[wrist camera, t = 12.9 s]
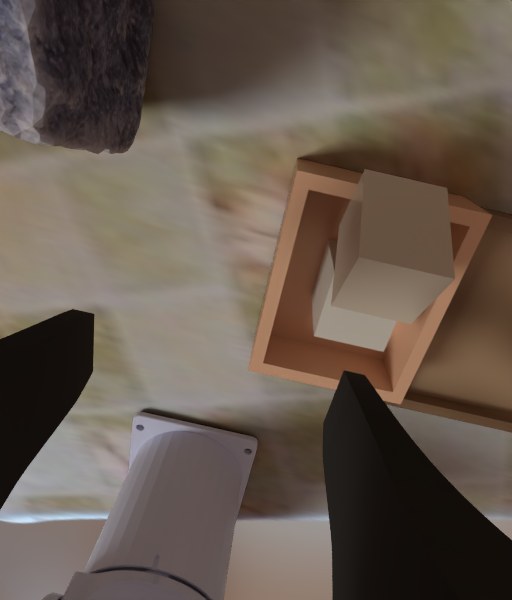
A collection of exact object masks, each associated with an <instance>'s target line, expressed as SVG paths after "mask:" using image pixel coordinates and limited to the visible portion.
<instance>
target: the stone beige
mask: <svg viewBox="0 0 512 600" xmlns="http://www.w3.org/2000/svg"><path fill="white" fill-rule="evenodd" d="M454 280H455V273H454V261H453V250H452V238H451V227H450V215H449V203H448V192H447V188H445V187H441V186H437V185H432V184H428V183H424V182H419V181H415V180H411V179H406V178H402V177H398V176H393V175H389V174H385V173H380V172H376V171H372V170H368V169H364V172H363V174H362V176H361V178H360V181H359V183H358V185H357V187H356V189H355V192H354V194H353V196H352V198H351V200H350V203H349V205H348V207H347V209H346V212H345V214H344V216H343V218H342V220H341V223H340V225H339V234H338V243H337V253H336V262H335V272H334V281H333V291H332V300H331V306H333V307H337V308H342V309H346V310H350V311H355V312H359V313H364V314H368V315H372V316H377V317H381V318H386V319H390V320H394V321H399V322H403V323H408V324H411V323H412V322H413V321H414V320H415V319H416V318H417V317H418V316H419V315H420V314H421V313H422V312H423V311H424V310H425V309H426V308H427V307H428V306H429V305H430V304H431V303H432V302H433V301H434V300H435V299H436V298H437V297H438V296H439V295H440V294H441V293H442V292H443V291H444V290H445V289H446V288H447V287H448V286H449V285H450V284H451V283H452V282H453V281H454Z"/></svg>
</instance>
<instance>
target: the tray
mask: <svg viewBox="0 0 512 600" xmlns="http://www.w3.org/2000/svg"><path fill="white" fill-rule="evenodd" d="M480 208H481V207H480ZM482 209H484V210H485V211H487V212H488V213H490V214H491V215H492V217H491V219H490V221H489V223H488V225H487V228H486V230H485V232H484V234H483V236H482V238H481V240H480V242H479V244H478V246H477V248H476V250H475V252H474V254H473V256H472V258H471V260H470V263H469V265H468V267H467V269H466V271H465V273H464V275H463V277H462V279H461V281H460V283H459V285H458V287H457V289H456V291H455V293H454V295H453V298H452V300H451V302H450V304H449V306H448V308H447V310H446V312H445V314H444V316H443V318H442V320H441V322H440V324H439V326H438V328H437V330H436V333H435V335H434V337H433V339H432V341H431V343H430V345H429V347H428V349H427V351H426V353H425V355H424V357H423V359H422V361H421V363H420V366H419V368H418V370H417V372H416V374H415V376H414V378H413V380H412V382H411V384H410V386H409V388H408V390H407V392H406V394H405V396H404V398H403V401H402V403H401V405H400V404H396V403H392V402H387V401H384V402H385V404H388V405H392V406H397V407H401V408H406V409H410V410H415V411H419V412H424V413H428V414H432V415H437V416H441V417H446V418H450V419H455V420H459V421H464V422H468V423H473V424H477V425H481V426H486V427H490V428H495V429H499V430H504V431H508V432H512V215H511V214H507V213H502V212H498V211H494V210H489V209H485V208H482Z"/></svg>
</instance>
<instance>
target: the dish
mask: <svg viewBox="0 0 512 600" xmlns="http://www.w3.org/2000/svg"><path fill="white" fill-rule="evenodd" d="M362 174H363V173H360V172H355V171H351V170H347V169H342V168H338V167H334V166H329V165H325V164H321V163H316V162H312V161H308V160H303V159H299V158H297V162H296V166H295V170H294V174H293V179H292V183H291V187H290V191H289V195H288V199H287V203H286V208H285V212H284V216H283V220H282V224H281V228H280V232H279V237H278V241H277V245H276V249H275V253H274V257H273V262H272V266H271V270H270V274H269V278H268V282H267V286H266V291H265V295H264V299H263V303H262V307H261V311H260V315H259V320H258V324H257V328H256V332H255V336H254V342H253V347H252V353H251V358H250V364H249V369H248V370H249V371H254V372H258V373H263V374H267V375H271V376H276V377H280V378H285V379H289V380H294V381H298V382H303V383H307V384H311V385H316V386H320V387H325V388H329V389H334V390H336V389H337V386H338V384H339V381H340V379H341V376H342V373H343V371H344V370H345V371H350V372H354V373H359V374H363V375H365V376H366V377H367V378H368V380H369V381H370V383H371V384H372V385H373V387H374V388H375V390H376V391H377V393H378V394H379V395H380V397H381V398H382V400H383V401H387V402H392V403H396V404H400V405H401V403H402V401H403V398H404V396H405V394H406V392H407V390H408V388H409V386H410V384H411V382H412V380H413V378H414V376H415V374H416V372H417V370H418V368H419V366H420V363H421V361H422V359H423V357H424V355H425V353H426V351H427V349H428V347H429V345H430V343H431V341H432V339H433V337H434V335H435V333H436V330H437V328H438V326H439V324H440V322H441V320H442V318H443V316H444V314H445V312H446V310H447V308H448V306H449V304H450V302H451V300H452V298H453V295H454V293H455V291H456V289H457V287H458V285H459V283H460V281H461V279H462V277H463V275H464V273H465V271H466V269H467V267H468V265H469V263H470V260H471V258H472V256H473V254H474V252H475V250H476V248H477V246H478V244H479V242H480V240H481V238H482V236H483V234H484V232H485V230H486V228H487V225H488V223H489V221H490V219H491V217H492V215H491V214H490V213H488V212H487V211H485V210H484V209H482V208H480V207H479V206H477V205H476V204H474V203H473V202H471V201H469V200H468V199H466V198H465V197H463V196H460V195H455V194H451V193H448V203H449V215H450V227H451V238H452V250H453V261H454V273H455V280H454V281H453V282H452V283H451V284H450V285H449V286H448V287H447V288H446V289H445V290H444V291H443V292H442V293H441V294H440V295H439V296H438V297H437V298H436V299H435V300H434V301H433V302H432V303H431V304H430V305H429V306H428V307H427V308H426V309H425V310H424V311H423V312H422V313H421V314H420V315H419V316H418V317H417V318H416V319H415V320H414V321H413V322H412V323H411V324H408V323H403V322H399V321H397V322H396V324H395V326H394V329H393V331H392V333H391V336H390V338H389V340H388V343H387V345H386V348H385V350H384V352H382V351H377V350H373V349H369V348H364V347H360V346H355V345H351V344H346V343H342V342H337V341H333V340H328V339H324V338H320V337H315V336H314V329H313V312H312V296H311V294H312V291H313V287H314V284H315V281H316V277H317V274H318V271H319V267H320V264H321V261H322V257H323V254H324V251H325V247H326V244H327V241H328V239H330V240H335V241H338V234H339V225H340V223H341V220H342V218H343V216H344V214H345V212H346V209H347V207H348V205H349V203H350V200H351V198H352V196H353V194H354V192H355V189H356V187H357V185H358V183H359V181H360V178H361V176H362Z"/></svg>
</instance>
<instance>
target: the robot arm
mask: <svg viewBox="0 0 512 600" xmlns="http://www.w3.org/2000/svg"><path fill="white" fill-rule="evenodd" d="M93 345H94V314H92V313H88V312H83V311H79V310H74V309H72V310H69V311H67V312H64V313H61V314H59V315H57V316H54V317H52V318H49V319H47V320H45V321H42V322H40V323H38V324H36V325H33V326H31V327H28V328H26V329H24V330H21V331H19V332H17V333H14V334H12V335H10V336H7V337H5V338H2V339H0V509H1V508H2V506H3V504H4V503H5V501H6V499H7V498H8V496H9V494H10V493H11V491H12V490H13V488H14V486H15V485H16V483H17V481H18V480H19V479H20V477H21V476H22V474H23V473H24V471H25V470H26V468H27V467H28V466H29V464H30V463H31V462H32V460H33V459H34V458H35V456H36V455H37V454H38V452H39V451H40V450H41V448H42V447H43V446H44V444H45V443H46V442H47V440H48V439H49V438H50V436H51V435H52V434H53V432H54V431H55V430H56V428H57V427H58V426H59V424H60V423H61V422H62V420H63V419H64V418H65V416H66V415H67V414H68V412H69V411H70V409H71V408H72V407H73V405H74V404H75V403H76V401H77V399H78V398H79V396H80V394H81V392H82V391H83V389H84V387H85V385H86V383H87V382H88V380H89V378H90V376H91V374H92V372H93ZM140 425H143V426H140ZM257 446H258V441H257V439H256V438H255V437H252V436H248V435H243V434H239V433H234V432H230V431H225V430H221V429H217V428H212V427H208V426H203V425H199V424H194V423H190V422H185V421H181V420H176V419H172V418H167V417H163V416H158V415H154V414H149V413H145V412H138V413H136V414H135V416H134V419H133V427H132V439H131V450H130V462H129V472H128V474H127V476H126V479H125V481H124V483H123V485H122V488H121V490H120V492H119V494H118V496H117V499H116V501H115V503H114V505H113V508H112V510H111V512H110V514H109V516H108V519H107V521H106V523H105V525H104V528H103V530H102V532H101V534H100V536H99V539H98V541H97V543H96V545H95V548H94V550H93V552H92V554H91V557H90V559H89V561H88V563H87V566H86V568H85V570H84V572H75V573H74V575H73V577H72V579H71V581H70V583H69V586H68V588H67V590H66V592H65V594H64V595H61V594H57V593H50V594H48V595H47V596H45V597H44V598H43V599H42V600H224V593H225V587H226V581H227V574H228V567H229V560H230V554H231V547H232V540H233V534H234V527H235V523H236V520H237V516H238V513H239V509H240V506H241V502H242V499H243V495H244V492H245V488H246V485H247V482H248V478H249V475H250V471H251V468H252V464H253V461H254V457H255V454H256V450H257ZM247 449H251V450H247ZM323 464H324V474H325V483H326V493H327V502H328V511H329V520H330V530H331V541H332V569H333V570H332V571H333V572H332V573H333V575H332V578H333V579H332V581H333V600H512V540H511V539H510V538H509V537H507V536H506V535H505V534H504V533H503V532H502V531H500V530H499V529H498V528H497V527H496V526H495V525H494V524H493V523H491V522H490V521H489V520H488V519H487V518H486V517H485V516H484V515H483V514H482V513H480V512H479V511H478V510H477V509H476V508H475V507H474V506H473V505H472V504H471V503H470V502H469V501H468V500H467V499H466V498H465V497H464V496H463V495H462V494H461V493H460V492H459V491H458V490H457V489H456V488H455V487H454V486H453V485H452V484H451V483H450V482H449V481H448V480H447V479H446V478H445V477H444V476H443V475H442V474H441V473H440V472H439V470H438V469H437V468H436V467H435V466H434V465H433V464H432V463H431V462H430V460H429V459H428V458H427V457H426V456H425V454H424V453H423V452H422V451H421V450H420V448H419V447H418V446H417V445H416V444H415V442H414V441H413V440H412V439H411V437H410V436H409V435H408V434H407V432H406V431H405V430H404V428H403V427H402V426H401V424H400V423H399V422H398V420H397V419H396V418H395V416H394V415H393V414H392V412H391V411H390V409H389V408H388V407H387V405H386V404H385V402H384V401H383V400H382V398H381V397H380V395H379V394H378V393H377V391H376V390H375V388H374V387H373V385H372V384H371V383H370V381H369V380H368V378H367V377H366V376H365V375H363V374H359V373H354V372H350V371H345V370H344V371H343V373H342V376H341V379H340V381H339V384H338V386H337V389H336V392H335V394H334V397H333V400H332V402H331V405H330V408H329V410H328V413H327V415H326V418H325V421H324V425H323Z"/></svg>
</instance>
